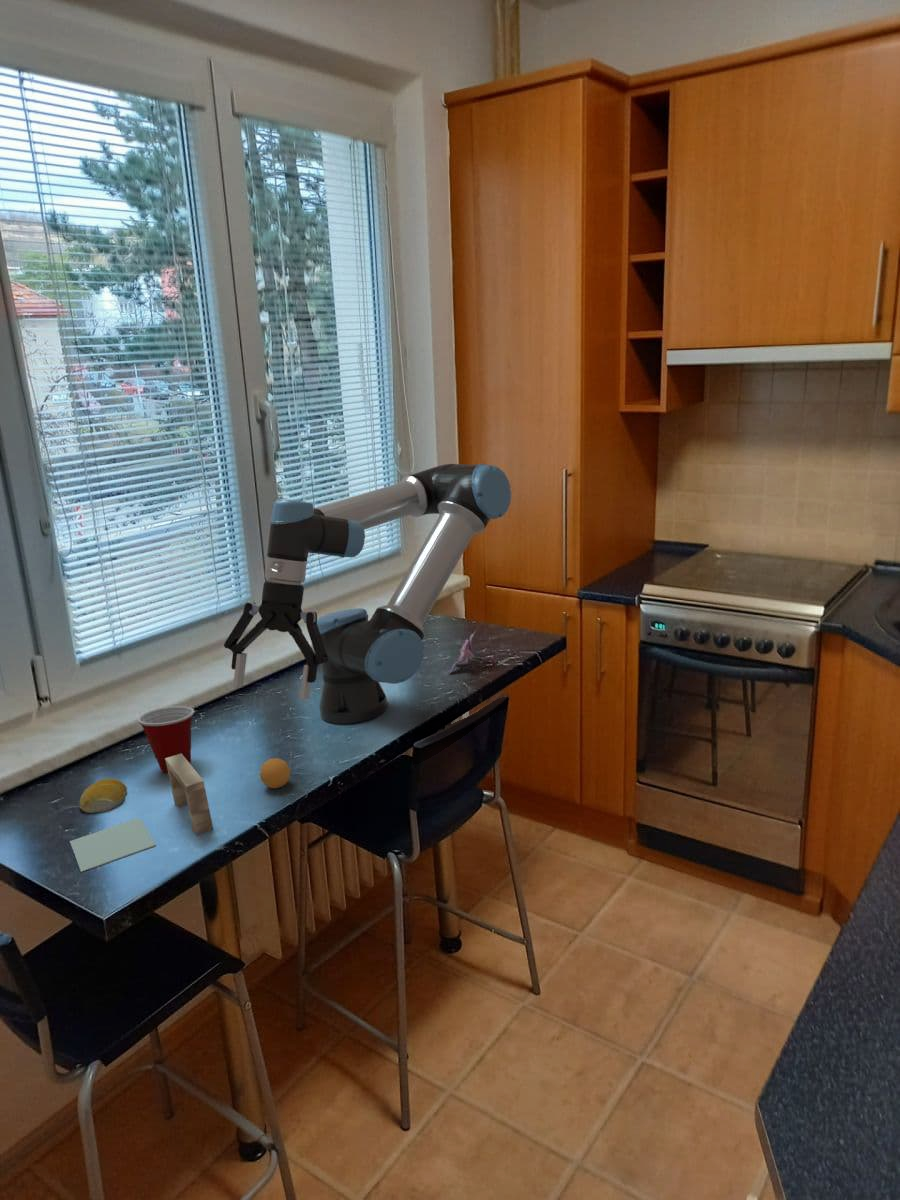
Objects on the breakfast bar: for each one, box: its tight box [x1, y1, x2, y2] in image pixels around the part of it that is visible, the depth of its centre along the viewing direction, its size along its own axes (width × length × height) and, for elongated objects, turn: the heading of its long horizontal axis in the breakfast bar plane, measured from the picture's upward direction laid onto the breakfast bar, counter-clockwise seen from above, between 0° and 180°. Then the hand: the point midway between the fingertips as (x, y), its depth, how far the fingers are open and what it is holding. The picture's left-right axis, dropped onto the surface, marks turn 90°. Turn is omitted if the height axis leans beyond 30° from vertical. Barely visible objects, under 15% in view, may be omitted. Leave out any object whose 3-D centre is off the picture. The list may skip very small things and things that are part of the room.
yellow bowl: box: [78, 778, 128, 814], centre depth 163 cm, size 8×9×4 cm
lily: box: [449, 629, 483, 673], centre depth 212 cm, size 12×12×10 cm
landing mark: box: [69, 817, 157, 873], centre depth 147 cm, size 12×12×1 cm
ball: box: [259, 757, 291, 789], centre depth 161 cm, size 6×6×6 cm
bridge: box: [165, 753, 214, 836], centre depth 153 cm, size 3×14×9 cm, turn 32°
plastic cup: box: [137, 705, 195, 775], centre depth 173 cm, size 11×11×12 cm
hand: (270, 693), depth 163 cm, fingers open, 13 cm apart
